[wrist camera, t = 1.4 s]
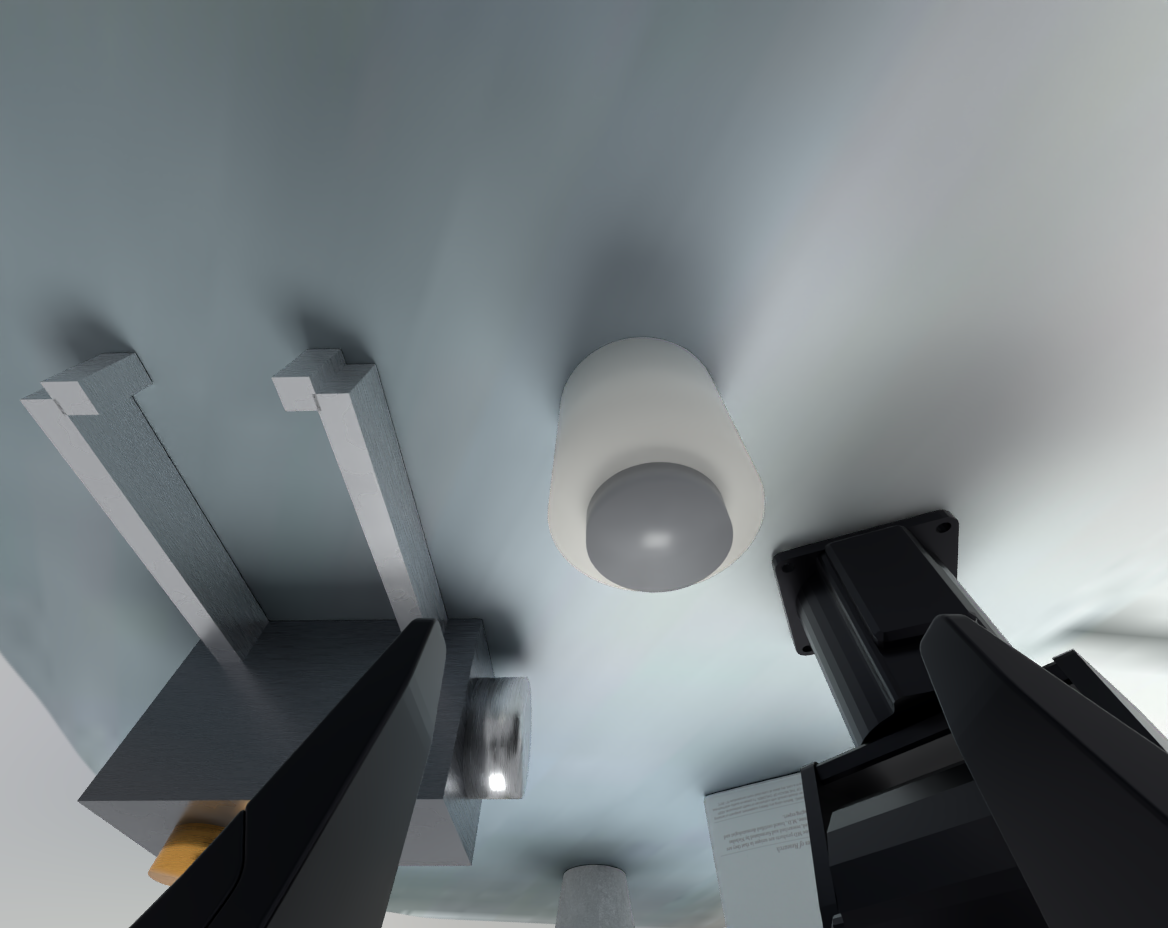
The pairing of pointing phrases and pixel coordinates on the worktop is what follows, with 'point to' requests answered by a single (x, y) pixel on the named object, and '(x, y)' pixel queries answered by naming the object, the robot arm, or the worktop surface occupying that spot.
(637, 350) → the bottle
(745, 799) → the supplement box
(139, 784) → the motor clip
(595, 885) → the house plant
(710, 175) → the worktop surface
